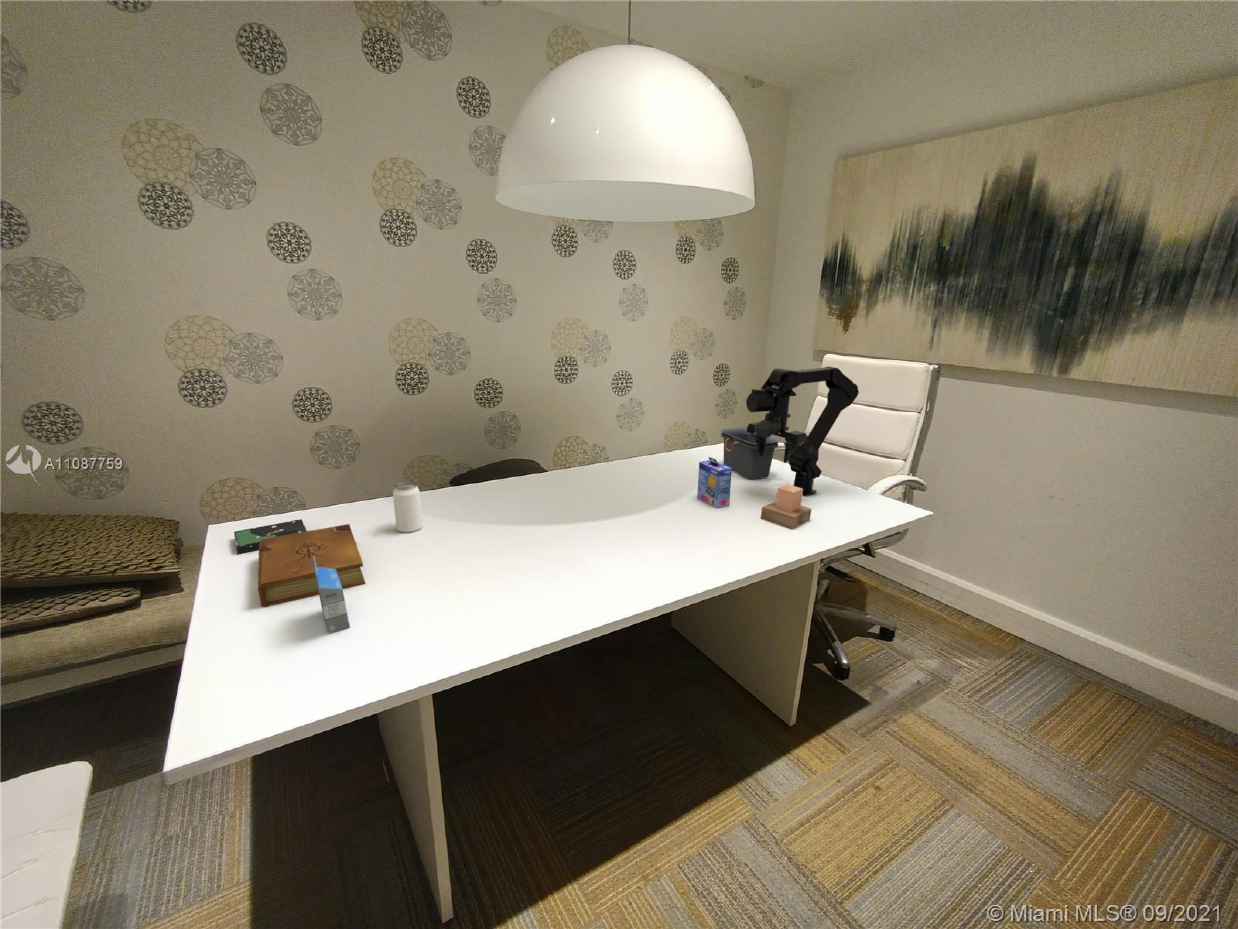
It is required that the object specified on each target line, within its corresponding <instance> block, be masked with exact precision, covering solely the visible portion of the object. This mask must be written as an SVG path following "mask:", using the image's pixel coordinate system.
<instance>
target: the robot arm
mask: <svg viewBox="0 0 1238 929" xmlns="http://www.w3.org/2000/svg"><path fill="white" fill-rule="evenodd" d="M820 382H821V383H822V382H825V386H826V387H827V389H828V391H827V395H826V396H827V401H826V405H825V406H824V409H823V410H822V412H821V413H820V415H819V417H818V418H817V420H816V422H815V424H814V425H813V427H812V428H811V431H810V432H809V434H808V435H807V433H806V432H802V431H800V430H799V431H798V430H793V431H789V429H790V427H789V426H787V425H788V424H787V423H788V419H789V418H791V414H790V413H789V409H790V401H791V400H790V398H791V397H797V393H796V392H795V391H794V390H793V389H795V388H798V387H799V386H800V385H803V384H811V383H820ZM859 394H860V391H859V387H858V385H857V384H856V383H854V382H853V380H852V379H850V378H849V377H848V376H846V375H845V374H844V373H843V371H842V370H841V369H839V368H838V367H834V366H825V367H818V368H810V369H800V370H799V369H798V370H795V369H788V368H787V369H786V368H773V370H772V371H771V372H770V375H769V377H767V379H766V380H765V381H764V383H763V385H762V386H761V387H760V389H757V388H752V389H751V392H750V393H749V394H748V396H747V398H746V400H745V405H746V408H747V410H748V411H749V412H750V413H760V412H761V413H762V412H763V413H764V412H766V413H765V416H764V419H762V420H760V421H756V422H754V421H753V422H750V423H748V425H747V426H746V428H747V432H748V433H750V435H751V436H752V437H753V438H754V439H755V441H756V444H757V447H758V451H759V455H760V456H762V455H763V452H764V448H765V443H766V439H767V438H768V437H770V436H771V437H772V436H777V437H780V438H782V439H783V438H784V440H785V441H784V442H783V445H784V455H783V463H784V464H787V463H788V464H789V467H790V472H793V473H795V474H794V475H795V476H794V480H793V486H795V487H799V488H802V489H803V494H802V496H804V497H806V496H809V495H812V494H816V493H817V490H815V489H813V488H814V480H815V479H817V478H820V476H821V474H822V472H823V471H822V470H821V468H820V467H819V466H818V464H817V462H818V461H819V456H820V455H819V453H820V452H819V450H820V448H821V446H822V445H823V443H824V441H825V439H826V438H827V436H828V434H829V432H830V431H831V429H832V427H833V426H834V425H835V422H836V420H837V419H838V417H839V416H840V414H841V412H842V411H843V410H845V409H846V408H848V407H849V406H851V405H852V404H853V402H854V401H855V400H856V399H857V398H858V396H859Z"/></svg>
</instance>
